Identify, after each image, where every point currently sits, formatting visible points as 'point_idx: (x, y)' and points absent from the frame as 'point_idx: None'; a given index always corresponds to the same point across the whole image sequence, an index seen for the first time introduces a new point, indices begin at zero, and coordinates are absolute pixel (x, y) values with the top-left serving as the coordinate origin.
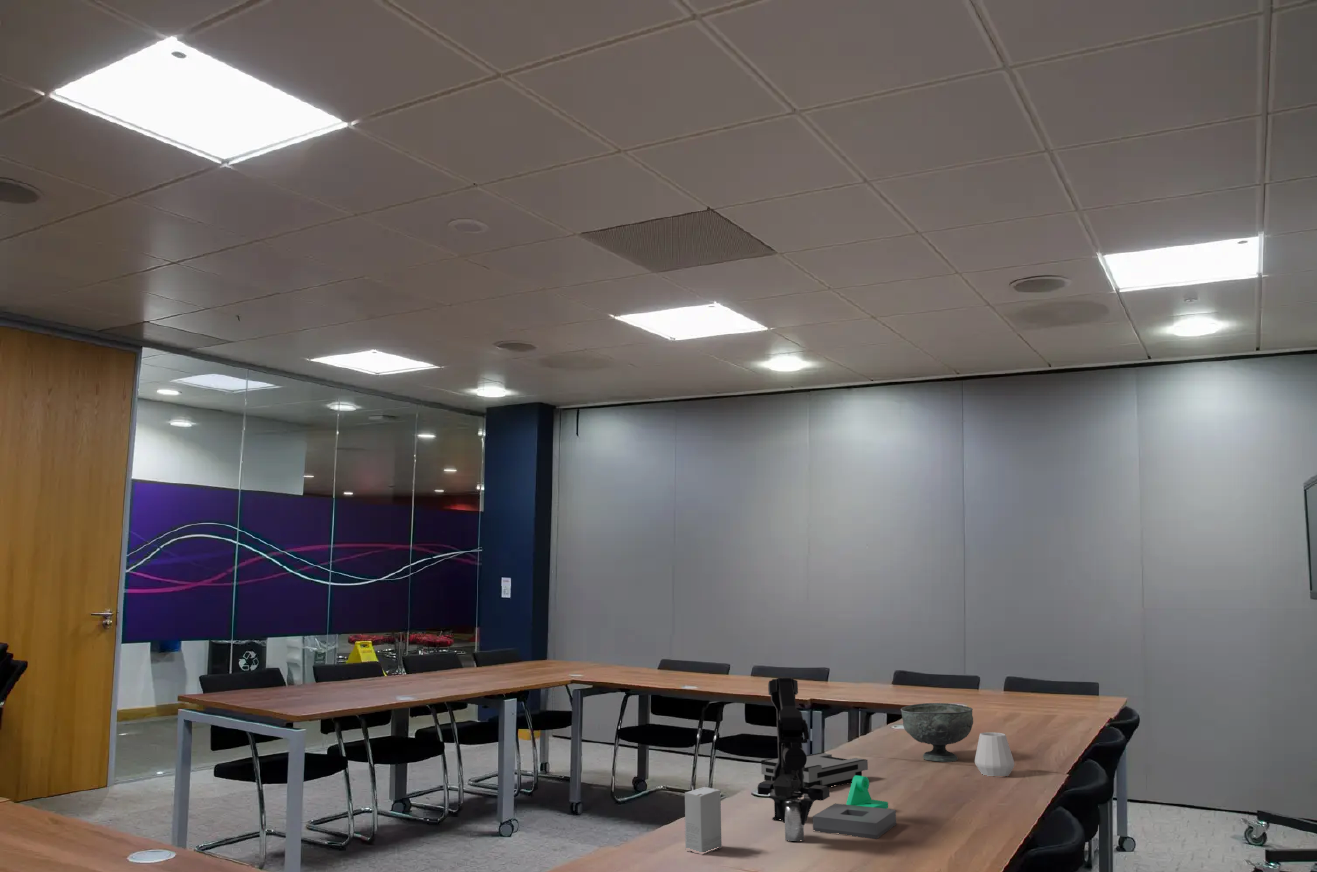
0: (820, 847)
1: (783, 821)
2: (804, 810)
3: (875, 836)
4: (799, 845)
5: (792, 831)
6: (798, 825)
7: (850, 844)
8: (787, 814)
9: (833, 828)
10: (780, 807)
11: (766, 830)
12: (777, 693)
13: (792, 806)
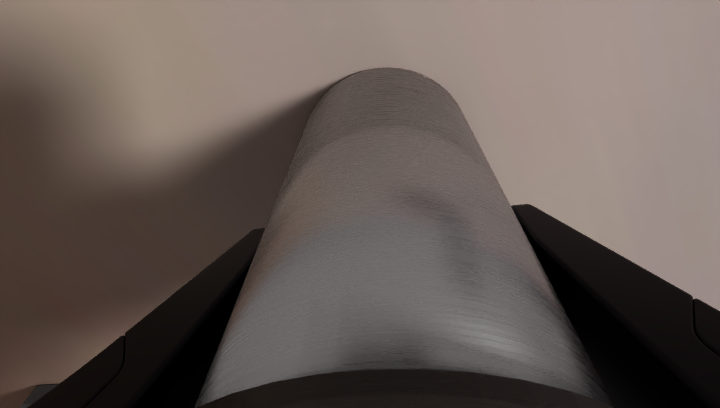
0: (62, 61)
1: (531, 209)
2: (103, 372)
3: (34, 396)
4: (245, 6)
5: (354, 105)
6: (285, 178)
7: (14, 252)
8: (446, 214)
9: None
10: (698, 348)
11: (698, 269)
12: None
13: (295, 377)
